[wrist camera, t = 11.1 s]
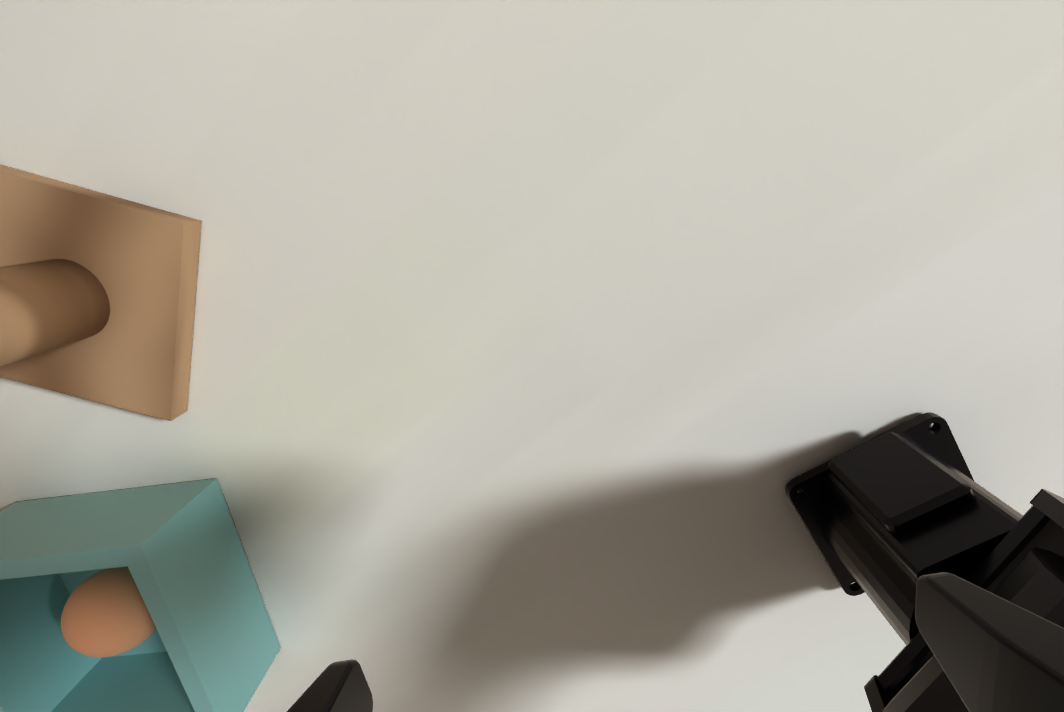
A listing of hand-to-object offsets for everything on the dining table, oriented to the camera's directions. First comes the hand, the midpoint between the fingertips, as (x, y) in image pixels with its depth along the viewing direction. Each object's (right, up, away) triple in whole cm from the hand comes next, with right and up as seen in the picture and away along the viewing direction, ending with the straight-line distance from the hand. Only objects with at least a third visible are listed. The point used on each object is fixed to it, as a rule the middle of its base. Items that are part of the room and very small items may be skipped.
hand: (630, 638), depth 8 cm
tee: (-19, +7, +12) cm, 23 cm away
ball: (-19, -6, +16) cm, 26 cm away
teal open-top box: (-19, -6, +16) cm, 26 cm away
